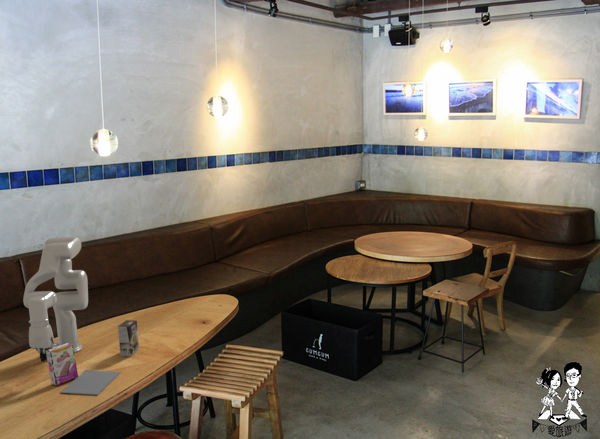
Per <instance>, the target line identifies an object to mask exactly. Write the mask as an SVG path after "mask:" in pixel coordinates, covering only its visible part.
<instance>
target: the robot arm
mask: <svg viewBox="0 0 600 439" xmlns="http://www.w3.org/2000/svg"><path fill="white" fill-rule="evenodd" d="M44 243H45V244H44V246H43V248H42V253H41V258H40V261H39V262H40V263H39V268H38V271H37V272H36V273H35V274H33V276H32V277H31V278H30V279H29V280H28V281H27V283H26V285H25V288H24V294H23V305H24V307H26V308H27V309H28V313H29V320H28V324H30V326H29V327H28V328H29V329H28V343H29V347H30V348H32V349H33V350H36V351H37V353H38V354H39V359H40V362H42V363H44V362H47V355H46V350H48V349H53V348H54V347H57V346H60V345H63V344H66V343H70V344H73V349H74V354H75V353H77V352H80V351H81V350H82V348H83V345H82V344H81V343H79V336H78V328H77V317H76V315H75V313H74V312H73V311H79V310H80V311H81V310H85V309H86V308H88V304H89V290H88V289H89V287H88V285H89V282H88V275H87V273H86V271H84V270H83V269H78V270H77V269H75V270H73V266H72V265H73V262H72V259H73V258H75V257H77V255H79V253H80V251H81V250H82V241H81V240H80V238H79V237H77V236H66V237H63V236H62V237H51V238H48V239H46V241H45V242H44ZM53 278H54V286H55V288H56V289H58V290H74V289H76V290H75V291H60V292H55V291H52V290H47V291H46V290H43V291H42V290H41V291H35V290H36V288H37V287H38V286H40V285H41V284H43V283H45V282H47V281H50V280H52V279H53ZM50 308H53V311H54V316H55V321H56V329H57V338H58V341H55V339H54V333H53V329H52V326H51V324H50V322H49V315H48V309H50Z"/></svg>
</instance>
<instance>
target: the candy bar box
mask: <svg viewBox="0 0 600 439" xmlns="http://www.w3.org/2000/svg"><path fill="white" fill-rule="evenodd" d="M46 355H47V360H46V362H47V366H48V371H49V376H50V382H51V385H53V386H59V385H61V384H62V385H63V384H65V383H66V382H69V381H71V380H72V381H73V380H75V379H76V378H77V377H78V376H79V374H78V368H77V361H76V357H75V356H76V354H75V353H74V349H73V344H70V343H66V344H63V345H60V346H57V347H54V348H53V349H48V350H46Z"/></svg>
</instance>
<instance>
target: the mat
mask: <svg viewBox="0 0 600 439" xmlns="http://www.w3.org/2000/svg"><path fill="white" fill-rule="evenodd" d="M120 374H121V371H110V370H109V371H108V370H107V371H106V370H91V369H90V370H88V369H87V370H86V369H85V370H84V371H83V372H82V373H80V374H78V377H77V378H74V379H73V380H72V381H71V382H70V383H69V384H68V385H66V387H65V388H63V389H62V390H61V391H60V392H59V393H60V394H61V393H71V394H70V395H79V394H84V396H99V395H100V394H101V393H102V392H103V391H104V390H105V389H106V388H107V387H108V386H109V385H110V384H111V383H112V382H114V380H115V379H116V378H118V377H119V376H120Z"/></svg>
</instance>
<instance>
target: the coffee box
mask: <svg viewBox="0 0 600 439" xmlns="http://www.w3.org/2000/svg"><path fill="white" fill-rule="evenodd" d="M117 332H118V342H119V344H118V345H119V355H120V356H121V357H132V356H134V355H135V354H136V353H137V352H138V351H139V350H140V342H139V340H140V339H139V330H138V320H137V319H136V320H135V319H134V320H133V319H132V320H131V319H129V320H128V319H126V320H125V321H123V322H122V323H120V324H119V325H118V326H117Z"/></svg>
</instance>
